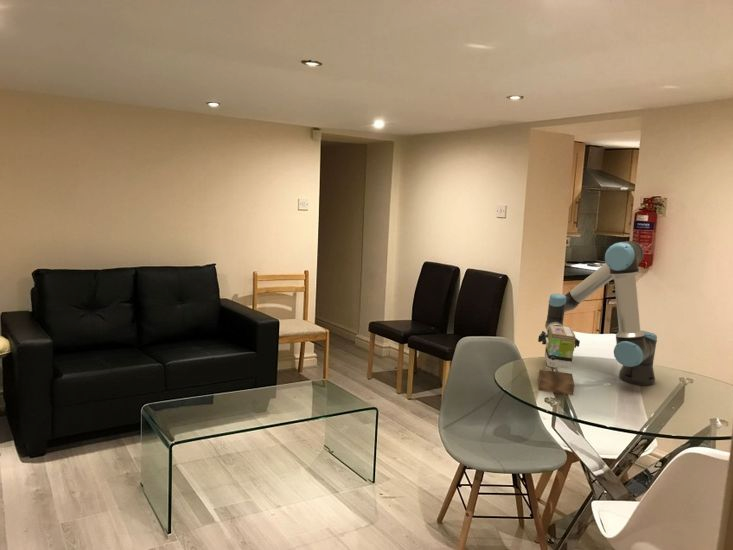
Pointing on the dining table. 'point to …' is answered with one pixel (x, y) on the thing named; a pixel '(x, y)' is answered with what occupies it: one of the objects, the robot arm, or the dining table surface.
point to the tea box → (560, 347)
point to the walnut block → (556, 382)
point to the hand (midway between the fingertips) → (560, 346)
